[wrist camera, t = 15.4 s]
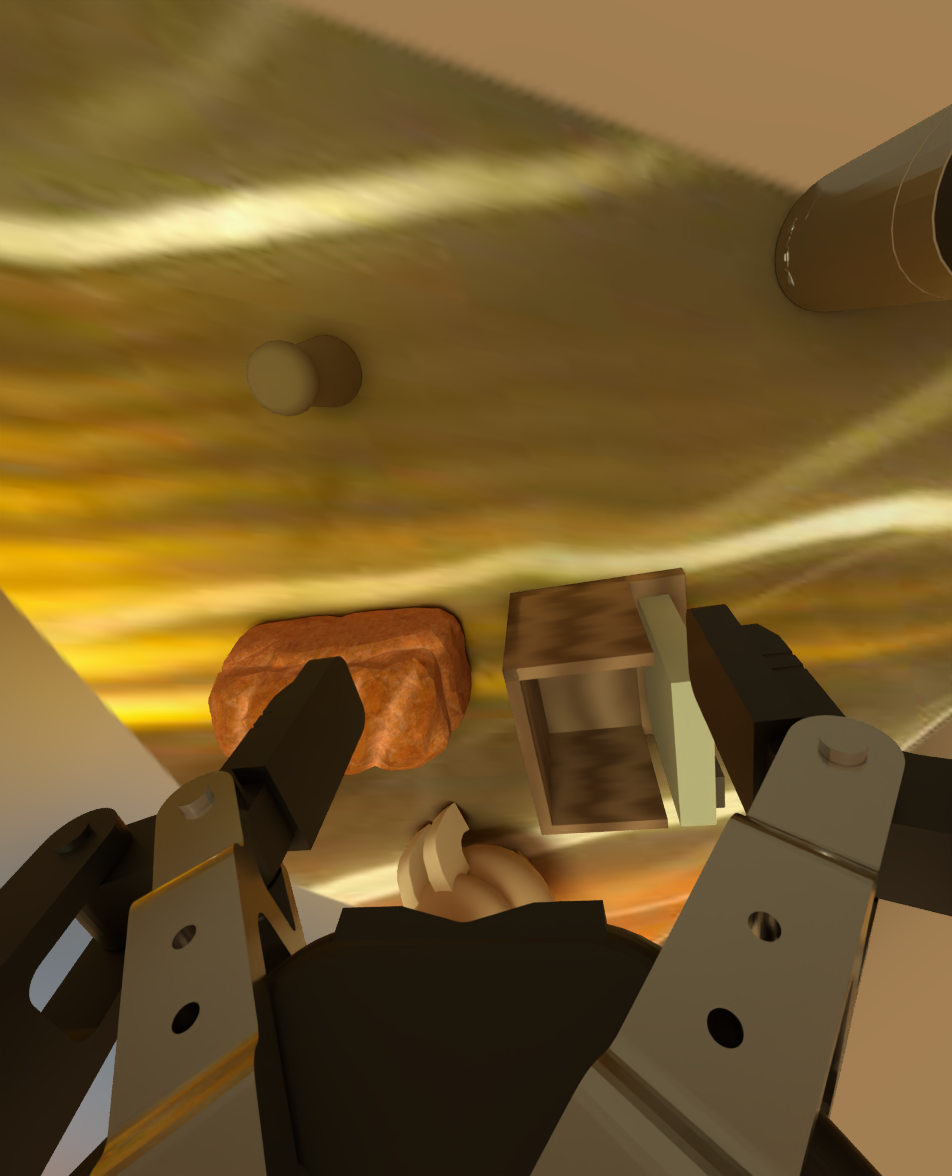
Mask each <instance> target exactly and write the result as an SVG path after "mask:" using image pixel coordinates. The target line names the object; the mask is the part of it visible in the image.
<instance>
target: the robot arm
mask: <svg viewBox="0 0 952 1176" xmlns="http://www.w3.org/2000/svg"><path fill="white" fill-rule="evenodd" d="M775 265H776V274H777V278H778V281H779V284H780V286H781V288H782V290H783V291H784V293H785V295H786V296H787V297H788V298H789V299H790V300H791V301H792V302H793V303H794V304H796V305H798V306H800V307H802V308H804V309H806V310H811V311H815V312H832V311H842V310H854V309H866V308H876V307H886V306H896V305H907V304H917V303H927V302H937V301H947V300H952V104H951V105H950V106H948V107H946V108H944V109H942V110H941V111H939V112H937V113H935V114H934V115H932V116H930V117H928V118H927V119H925V120H923V121H921V122H920V123H918V124H916V125H914V126H912V127H911V128H909V129H907V130H906V131H904V132H902V133H900V134H898V135H897V136H895V137H893V138H891V139H890V140H888V141H886V142H884V143H883V144H881V145H879V146H877V147H876V148H874V149H872V150H870V151H868V152H867V153H865V154H863V155H861V156H859V157H857V158H856V159H854V160H852V161H850V162H849V163H847V164H845V165H843V166H841V167H840V168H838V169H836V170H834V171H833V172H831V173H829V174H827V175H826V176H824V177H823V178H822V179H820V180H819V181H818V182H816V183H815V184H814V185H812V186H811V187H810V188H809V189H808V190H807V191H806V192H805V193H804V194H803V195H802V196H801V197H800V198H799V200H798V201H797V203H796V204H795V206H794V207H793V208H792V210H791V211H790V213H789V214H788V216H787V218H786V220H785V223H784V225H783V227H782V229H781V232H780V235H779V239H778V242H777V247H776V255H775ZM686 632H687V651H688V669H689V677H690V682H691V687H692V690H693V694H694V696H695V699H696V701H697V703H698V706H699V708H700V710H701V713H702V715H703V717H704V719H705V722H706V724H707V726H708V728H709V731H710V733H711V735H712V737H713V740H714V742H715V744H716V746H717V749H718V751H719V753H720V755H721V758H722V760H723V762H724V765H725V767H726V769H727V771H728V774H729V776H730V778H731V780H732V783H733V785H734V787H735V789H736V792H737V794H738V796H739V798H740V801H741V803H742V805H743V807H744V810H745V812H746V814H747V815H746V816H744V815H741V814H739V813H735V814H734V815H733V816H732V817H731V818H730V819H729V821H728V822H727V824H726V826H725V828H724V830H723V831H722V833H721V835H720V837H719V839H718V841H717V843H716V845H715V847H714V849H713V851H712V853H711V855H710V857H709V859H708V861H707V862H706V864H705V866H704V868H703V870H702V872H701V874H700V876H699V878H698V880H697V882H696V884H695V886H694V888H693V890H692V892H691V893H690V895H689V897H688V899H687V901H686V903H685V905H684V907H683V909H682V911H681V913H680V915H679V917H678V919H677V921H676V922H675V924H674V926H673V928H672V930H671V932H670V934H669V936H668V938H667V940H666V942H665V944H664V946H663V948H662V947H660V946H659V945H657V944H656V943H654V942H652V941H650V940H648V939H646V938H645V937H643V936H641V935H638V934H636V933H633V932H631V931H628V930H626V929H623V928H620V927H616V926H613V925H609V924H607V921H606V915H605V910H604V905H603V900H593V901H559V902H533V903H530V904H526V905H523V906H520V907H516V908H513V909H510V910H506V911H503V912H500V913H496V914H493V915H490V916H486V917H483V918H480V919H476V920H473V921H469V922H457V921H453V920H450V919H446V918H443V917H439V916H436V915H432V914H428V913H425V912H421V911H418V910H414V909H410V908H407V907H403V906H390V907H356V908H343V909H342V912H341V915H340V918H339V921H338V924H337V927H336V930H335V932H334V933H331V934H329V935H326V936H324V937H322V938H319V939H317V940H315V941H313V942H312V943H310V944H308V945H306V942H305V938H304V934H303V931H302V926H301V923H300V919H299V915H298V911H297V907H296V903H295V899H294V895H293V891H292V887H291V883H290V879H289V876H288V872H287V869H286V868H285V866H284V864H283V862H282V861H283V859H284V857H285V855H286V853H287V851H300V850H311V848H312V846H313V844H314V842H315V839H316V837H317V835H318V832H319V830H320V828H321V826H322V823H323V821H324V819H325V817H326V814H327V812H328V810H329V808H330V805H331V803H332V801H333V799H334V796H335V794H336V792H337V790H338V787H339V785H340V783H341V780H342V778H343V776H344V774H345V771H346V769H347V767H348V765H349V762H350V760H351V758H352V756H353V753H354V751H355V749H356V747H357V744H358V742H359V740H360V738H361V735H362V733H363V730H364V726H365V711H364V706H363V703H362V701H361V698H360V696H359V693H358V691H357V688H356V686H355V683H354V681H353V678H352V676H351V673H350V671H349V669H348V666H347V664H346V662H345V660H344V659H343V658H342V657H340V656H334V657H327V658H320V659H313V660H309V661H308V662H307V663H306V664H305V666H304V667H303V668H302V670H301V671H300V673H299V674H298V675H297V677H296V678H295V680H294V681H293V682H291V683H290V684H289V685H287V686H286V687H285V688H284V689H283V690H281V691H280V692H279V693H278V694H277V695H275V696H274V697H273V699H272V700H271V701H270V703H269V704H268V705H267V707H266V708H265V709H264V711H263V715H260V716H259V718H258V719H257V720H256V722H255V723H254V724H253V728H251V729H250V730H249V731H248V733H247V734H246V735H245V737H244V738H243V739H242V741H241V742H240V743H239V745H238V746H237V748H236V749H235V750H234V752H233V753H232V754H231V756H230V757H229V758H228V760H227V761H226V762H225V764H224V765H223V767H222V768H221V769H220V771H216V772H210V773H206V774H204V775H201V776H199V777H197V778H194V779H193V780H191V781H189V782H187V783H186V784H184V785H183V786H181V787H180V788H179V789H178V790H176V791H175V792H174V793H173V794H172V795H171V796H170V797H169V798H168V799H167V800H166V801H165V802H164V804H163V805H162V806H161V808H160V810H159V811H158V814H157V815H154V816H151V817H148V818H145V819H142V820H139V821H137V822H133V823H131V824H128V825H125V824H124V822H123V821H122V820H121V818H120V817H119V816H118V814H117V813H116V812H115V810H113V809H110V808H101V809H96V810H93V811H90V812H87V813H85V814H83V815H81V816H79V817H77V818H75V819H73V820H72V821H70V822H68V823H67V824H65V825H64V826H62V827H61V828H60V829H58V830H57V831H56V832H55V833H53V834H52V835H51V836H50V837H49V838H48V839H47V840H46V841H45V842H44V843H43V844H42V845H41V846H40V847H39V848H38V849H37V850H36V851H35V852H34V854H32V856H31V857H30V858H29V859H28V860H27V861H26V862H25V863H24V864H23V865H22V866H21V868H19V870H18V871H17V872H16V873H15V874H14V875H13V876H12V877H11V878H10V879H9V880H8V881H7V883H6V884H5V885H4V886H3V887H2V888H1V889H0V1176H41V1174H42V1172H43V1170H44V1169H45V1167H46V1165H47V1163H48V1162H49V1160H50V1158H51V1156H52V1154H53V1153H54V1151H55V1149H56V1147H57V1145H58V1144H59V1142H60V1140H61V1138H62V1136H63V1135H64V1133H65V1131H66V1129H67V1127H68V1126H69V1124H70V1122H71V1120H72V1119H73V1117H74V1115H75V1113H76V1111H77V1110H78V1108H79V1106H80V1104H81V1102H82V1101H83V1099H84V1097H85V1095H86V1093H87V1092H88V1090H89V1088H90V1086H91V1085H92V1083H93V1081H94V1079H95V1077H96V1076H97V1074H98V1072H99V1070H100V1068H101V1067H102V1065H103V1063H104V1061H105V1059H106V1058H107V1056H108V1054H109V1052H110V1051H111V1049H112V1047H113V1045H114V1043H115V1042H116V1040H117V1043H116V1054H115V1065H114V1076H113V1086H112V1097H111V1106H110V1107H111V1108H110V1117H109V1128H108V1136H107V1137H106V1139H105V1140H104V1141H103V1142H102V1143H101V1144H100V1145H99V1146H98V1147H97V1148H96V1149H95V1150H94V1151H93V1152H92V1153H91V1154H90V1155H89V1156H88V1157H87V1158H86V1159H85V1160H84V1161H83V1162H82V1163H81V1164H80V1165H79V1166H78V1167H77V1168H76V1169H75V1170H74V1171H73V1172H72V1173H71V1174H70V1175H69V1176H882V1175H881V1174H880V1173H879V1172H878V1171H877V1170H876V1169H875V1167H874V1166H873V1165H872V1164H871V1163H870V1162H869V1161H868V1160H867V1159H866V1158H865V1157H864V1156H863V1155H862V1154H861V1152H860V1151H859V1150H858V1149H857V1148H856V1147H855V1146H854V1145H853V1144H852V1143H851V1142H850V1140H849V1139H848V1138H847V1137H846V1136H845V1135H844V1134H843V1133H842V1132H841V1131H840V1130H839V1129H838V1127H837V1126H835V1124H834V1123H833V1122H832V1121H831V1120H830V1119H829V1118H830V1114H831V1110H832V1106H833V1101H834V1097H835V1093H836V1088H837V1084H838V1080H839V1076H840V1072H841V1067H842V1063H843V1058H844V1054H845V1049H846V1045H847V1040H848V1035H849V1030H850V1025H851V1021H852V1016H853V1011H854V1006H855V1003H856V998H857V994H858V989H859V985H860V981H861V977H862V973H863V968H864V964H865V960H866V955H867V951H868V947H869V943H870V939H871V935H872V930H873V926H874V922H875V917H876V913H877V909H878V905H879V901H880V899H884V900H887V901H892V902H896V903H899V904H904V905H908V906H912V907H916V908H920V909H924V910H928V911H932V912H936V913H940V914H944V915H948V916H952V759H945V758H938V757H930V756H923V755H918V754H912V753H908V752H904V751H902V750H901V749H900V747H899V746H898V745H897V743H896V742H895V741H894V740H893V739H891V738H890V737H889V736H888V735H886V734H885V733H884V732H882V731H881V730H879V729H877V728H875V727H873V726H871V725H869V724H866V723H864V722H861V721H858V720H855V719H851V718H846V717H845V716H844V714H843V713H842V712H841V711H840V709H839V708H838V707H837V706H836V705H835V703H834V702H833V701H832V700H831V698H830V697H829V696H828V695H827V694H826V692H825V691H824V690H823V689H822V687H821V686H820V685H819V684H818V683H817V681H816V680H815V679H814V678H813V676H812V675H811V674H810V673H809V672H808V670H807V669H804V667H803V664H802V663H801V662H800V661H799V659H798V658H797V657H796V656H795V655H793V654H792V651H791V650H790V648H789V647H788V646H787V645H786V644H785V642H784V641H783V640H782V639H781V637H780V636H779V635H777V634H775V633H773V632H771V631H770V630H768V629H766V628H764V627H762V626H760V625H759V624H750V625H742V626H741V625H740V623H739V622H738V621H737V619H736V618H735V617H734V615H733V614H732V612H731V611H730V610H729V608H728V607H727V606H726V605H725V604H721V605H714V606H706V607H699V608H692V609H687V611H686ZM74 918H76V919H77V920H78V921H79V922H80V924H81V925H82V926H83V927H84V928H85V929H86V930H87V931H88V932H89V933H90V934H91V936H92V937H93V938H92V940H91V941H90V943H89V944H88V946H87V947H86V949H85V950H84V951H83V953H82V954H81V956H80V957H79V958H78V960H77V962H76V963H75V964H74V966H73V967H72V969H71V970H70V971H69V973H68V974H67V976H66V977H65V979H64V980H63V982H62V983H61V984H60V986H59V987H58V989H57V990H56V992H55V993H54V995H53V996H52V997H51V999H50V1000H49V1002H48V1003H47V1004H46V1006H45V1007H44V1009H43V1010H42V1012H40V1011H38V1010H37V1009H36V1008H35V1007H34V1006H33V1005H32V1003H31V1001H30V998H29V988H30V983H31V980H32V978H33V975H34V973H35V971H36V969H37V968H38V966H39V965H40V964H41V962H42V961H43V960H44V958H45V957H46V956H47V954H48V953H49V952H50V950H51V949H52V948H53V946H54V945H55V944H56V942H57V941H58V940H59V938H60V937H61V936H62V934H63V933H64V932H65V930H66V929H67V928H68V926H69V925H70V924H71V922H72V921H73V920H74Z"/></svg>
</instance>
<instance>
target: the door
mask: <svg viewBox="0 0 952 1176" xmlns="http://www.w3.org/2000/svg"><path fill="white" fill-rule="evenodd" d="M638 605H639V615H640V618H641V620H642V623H643V626H644V628H645V631H646V634H647V636H648V639H649V642H650V644H651V647H652V650H653V652H654V664H655V665H652V666H644V668H645V678H646V689H647V699H648V710H649V720H650V724H651V727H652V730H653V734H654V737H655V741H656V744H657V747H658V751H659V754H660V757H661V761H662V764H663V767H664V771H665V774H666V778H667V781H668V784H669V788H670V791H671V794H672V798H673V801H674V805H675V808H676V811H677V815H678V818H679V821H680V825H681V827H682V826H700V825H717V822H716V784H715V746H714V740H713V737H712V735H711V733H710V731H709V728H708V726H707V724H706V722H705V719H704V717H703V715H702V713H701V710H700V708H699V706H698V703H697V701H696V699H695V696H694V694H693V690H692V687H691V682H690V677H689V669H688V651H687V632H686V626H685V625H684V623H683V621H682V619H681V617H680V615H679V613H678V611H677V609H676V607H675V605H674V603H673V601H672V600H671V598H670V596H669V594H667V595H659V596H652V597H645V598H638Z"/></svg>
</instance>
